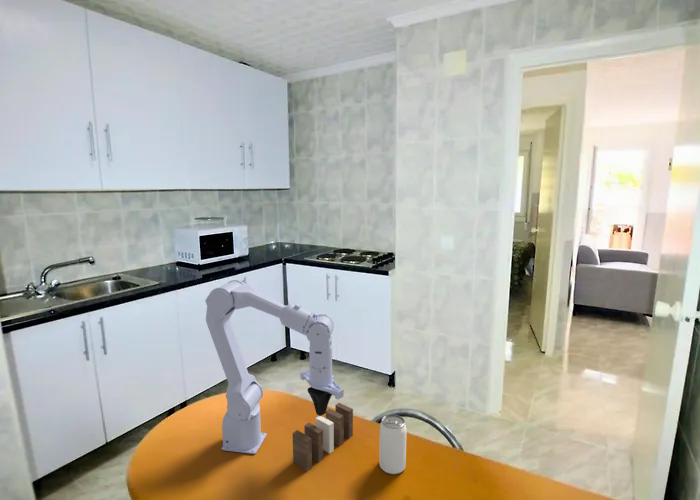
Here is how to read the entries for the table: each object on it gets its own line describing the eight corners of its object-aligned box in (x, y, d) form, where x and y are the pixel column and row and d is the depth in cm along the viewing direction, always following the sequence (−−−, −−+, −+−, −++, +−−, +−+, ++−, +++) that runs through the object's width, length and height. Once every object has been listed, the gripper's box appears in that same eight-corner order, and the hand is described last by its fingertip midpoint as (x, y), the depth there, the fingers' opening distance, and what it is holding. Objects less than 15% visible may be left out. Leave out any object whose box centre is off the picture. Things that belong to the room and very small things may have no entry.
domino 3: (329, 453, 95) (329, 425, 94) (315, 445, 98) (315, 418, 97) (333, 450, 96) (333, 422, 95) (320, 442, 99) (319, 415, 98)
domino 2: (318, 462, 92) (318, 433, 91) (304, 453, 95) (304, 425, 94) (323, 459, 93) (322, 430, 92) (309, 450, 96) (308, 422, 95)
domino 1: (307, 471, 89) (306, 441, 87) (293, 462, 92) (292, 433, 91) (311, 468, 90) (311, 438, 89) (297, 458, 93) (297, 429, 92)
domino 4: (339, 446, 98) (339, 418, 97) (325, 438, 101) (325, 411, 100) (343, 442, 99) (343, 415, 98) (329, 435, 102) (329, 408, 101)
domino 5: (349, 438, 101) (349, 411, 100) (335, 431, 104) (335, 405, 103) (352, 435, 102) (352, 408, 101) (339, 428, 105) (339, 402, 104)
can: (404, 477, 87) (406, 430, 85) (377, 473, 88) (378, 427, 86) (406, 458, 93) (407, 414, 91) (380, 454, 94) (381, 411, 93)
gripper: (352, 368, 90) (352, 419, 92) (314, 350, 101) (314, 397, 102) (331, 378, 85) (331, 431, 87) (293, 358, 96) (294, 407, 97)
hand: (321, 413), depth 95 cm, fingers closed
